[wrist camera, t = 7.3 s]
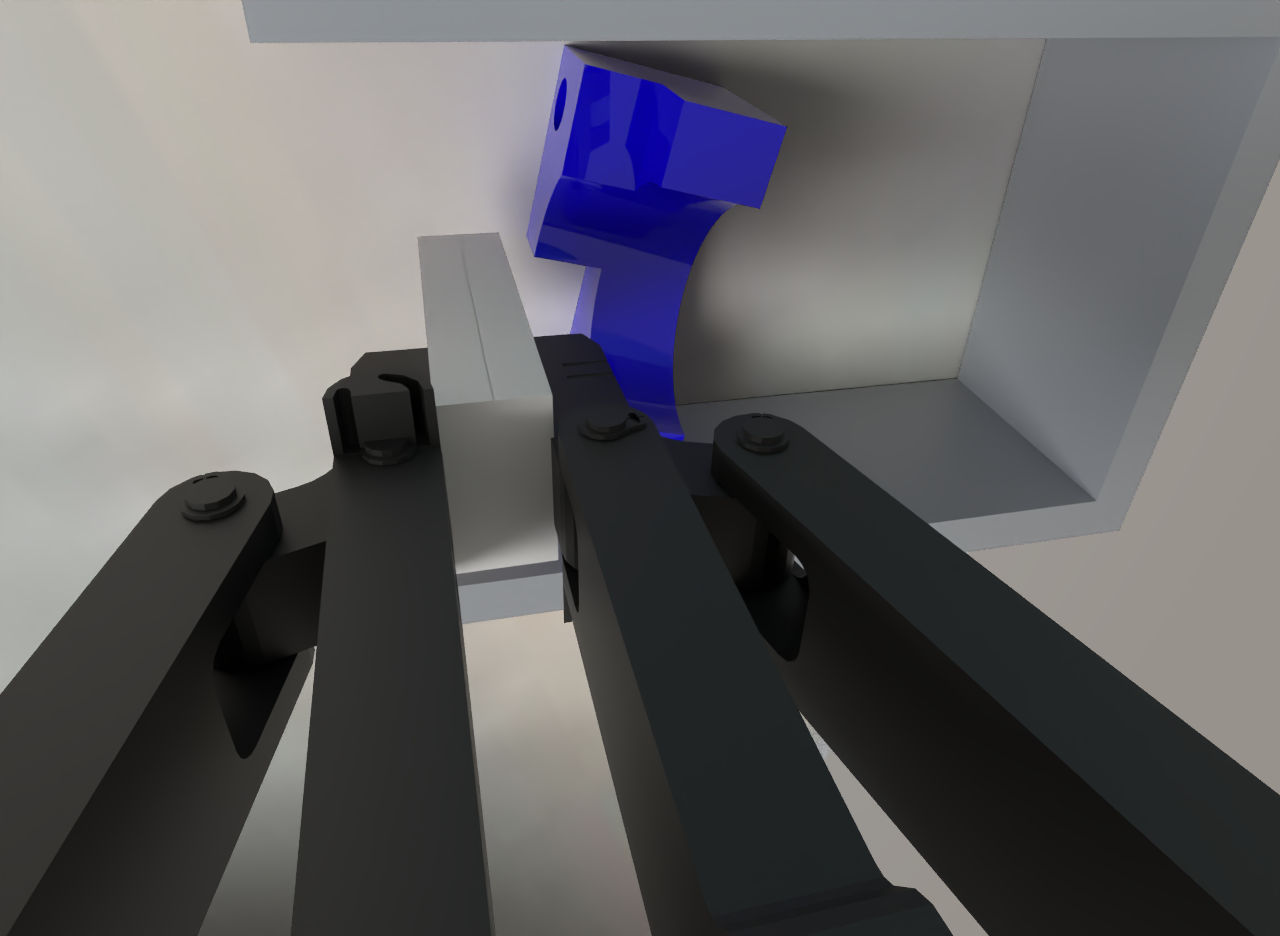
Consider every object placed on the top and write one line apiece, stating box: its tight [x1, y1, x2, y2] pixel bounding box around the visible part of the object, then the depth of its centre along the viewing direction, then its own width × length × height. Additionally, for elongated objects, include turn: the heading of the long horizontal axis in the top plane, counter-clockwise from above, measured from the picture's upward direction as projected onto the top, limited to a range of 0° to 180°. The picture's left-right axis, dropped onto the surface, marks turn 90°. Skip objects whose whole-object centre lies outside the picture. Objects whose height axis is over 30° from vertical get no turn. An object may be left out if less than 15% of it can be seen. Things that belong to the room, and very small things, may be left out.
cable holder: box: [527, 45, 787, 441], centre depth 18 cm, size 8×4×4 cm, turn 165°
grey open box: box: [242, 0, 1280, 624], centre depth 18 cm, size 12×17×6 cm
